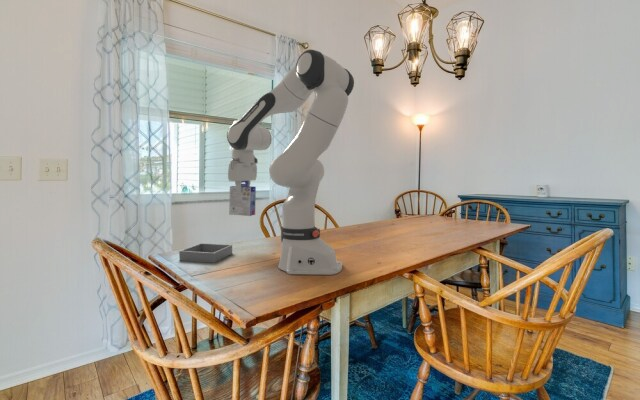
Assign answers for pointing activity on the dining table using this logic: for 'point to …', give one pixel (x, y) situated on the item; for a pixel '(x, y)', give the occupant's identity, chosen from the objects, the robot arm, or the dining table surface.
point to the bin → (205, 252)
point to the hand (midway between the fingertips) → (243, 191)
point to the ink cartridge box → (242, 200)
